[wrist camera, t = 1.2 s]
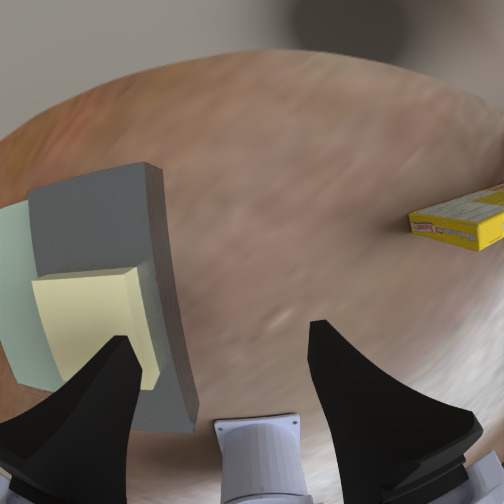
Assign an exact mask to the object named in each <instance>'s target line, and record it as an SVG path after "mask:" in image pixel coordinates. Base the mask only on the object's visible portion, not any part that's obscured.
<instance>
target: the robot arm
mask: <svg viewBox="0 0 504 504" xmlns="http://www.w3.org/2000/svg"><path fill="white" fill-rule="evenodd" d="M307 359H308V364H309V368H310V373H311V377H312V381H313V384H314V386H315V389H316V392H317V395H318V397H319V400H320V403H321V406H322V408H323V411H324V414H325V417H326V419H327V422H328V425H329V428H330V431H331V435H332V439H333V444H334V448H335V453H336V458H337V463H338V468H339V473H340V479H341V485H342V492H343V500H344V504H504V469H503V467H502V465H501V463H500V461H499V459H498V457H497V455H496V454H495V452H494V450H491V451H489V452H488V453H487V454H485V455H484V456H483V457H481V458H480V459H478V460H477V461H476V462H474V463H473V464H471V465H470V466H469V467H467V468H466V469H465V468H464V466H463V463H465V462H466V459H465V457H464V455H463V454H464V453H465V452H466V451H467V450H468V449H469V448H470V447H471V446H472V445H473V444H474V443H475V442H476V441H477V440H478V439H479V438H480V437H481V435H482V434H483V428H482V427H481V425H480V423H479V422H478V420H477V418H476V417H475V415H474V414H473V412H472V411H468V410H465V409H461V408H458V407H454V406H451V405H448V404H445V403H442V402H440V401H437V400H435V399H432V398H430V397H428V396H425V395H423V394H421V393H419V392H417V391H415V390H413V389H411V388H409V387H408V386H406V385H404V384H402V383H401V382H399V381H397V380H396V379H394V378H393V377H391V376H390V375H388V374H387V373H385V372H384V371H382V370H381V369H380V368H378V367H377V366H376V365H375V364H373V363H372V362H371V361H369V360H368V359H367V358H366V357H365V356H364V355H362V354H361V353H360V352H359V351H358V350H357V349H356V348H354V347H353V346H352V345H351V344H350V343H349V342H348V341H347V340H346V339H345V338H344V337H343V336H342V335H341V334H340V333H339V332H338V331H337V330H336V329H335V328H334V327H333V326H332V325H331V324H330V323H329V322H328V321H327V320H319V321H312V322H310V330H309V344H308V357H307ZM142 371H143V369H142V367H141V365H140V363H139V361H138V359H137V356H136V354H135V352H134V350H133V347H132V345H131V343H130V340H129V338H128V336H127V335H114V336H113V337H112V338H111V339H110V340H109V341H108V342H107V343H106V344H105V345H104V346H103V347H102V348H101V349H100V350H99V351H98V352H97V353H96V354H95V355H94V356H93V357H92V358H91V359H90V360H89V361H88V362H87V363H86V364H85V365H84V366H83V367H82V368H81V369H80V370H79V371H78V372H77V373H76V374H75V375H74V376H73V377H72V378H70V379H69V380H68V381H67V382H66V383H65V384H64V385H63V386H62V387H60V388H59V389H58V390H57V391H56V392H54V393H53V394H52V395H50V396H49V397H48V398H46V399H45V400H43V401H42V402H40V403H39V404H37V405H36V406H34V407H33V408H31V409H30V410H28V411H26V412H24V413H22V414H21V415H19V416H17V417H15V418H13V419H10V420H8V421H6V422H3V423H0V467H2V468H3V469H4V470H6V471H7V472H8V473H9V474H11V475H12V478H11V480H10V479H8V478H7V477H6V476H4V475H3V474H1V473H0V504H127V498H126V456H127V445H128V438H129V433H130V429H131V425H132V420H133V417H134V413H135V409H136V405H137V401H138V397H139V393H140V387H141V380H142ZM294 421H296V422H294ZM214 427H215V431H216V434H217V438H218V442H219V446H220V449H221V453H222V456H223V464H222V483H221V503H220V504H314V502H313V498H312V495H308V492H307V487H306V483H305V479H304V474H303V470H302V466H301V461H300V457H299V442H300V417H299V415H298V414H288V415H280V416H272V417H262V418H251V419H236V420H217V421H215V423H214ZM319 504H323V503H319Z"/></svg>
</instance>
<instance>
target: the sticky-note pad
mask: <svg viewBox="0 0 504 504" xmlns="http://www.w3.org/2000/svg"><path fill="white" fill-rule="evenodd" d="M31 282H32V286H33V291H34V295H35V299H36V303H37V307H38V311H39V314H40V318H41V321H42V325H43V328H44V331H45V334H46V338H47V341H48V343H49V346H50V349H51V352H52V355H53V357H54V360H55V363H56V365H57V368H58V370H59V373H60V375H61V378H62V380H63V381H68V380H69V379H70V378H72V377H73V376H74V375H75V374H76V373H77V372H78V371H79V370H80V369H81V368H82V367H83V366H84V365H85V364H86V363H87V362H88V361H89V360H90V359H91V358H92V357H93V356H94V355H95V354H96V353H97V352H98V351H99V350H100V349H101V348H102V347H103V346H104V345H105V344H106V343H107V342H108V341H109V340H110V339H111V338H112V337H113V336H114V335H127V336H128V338H129V340H130V343H131V345H132V347H133V350H134V352H135V354H136V356H137V359H138V361H139V363H140V365H141V367H142V369H143V371H142V380H141V387H140V389H141V390H153V388H154V386H155V384H156V381H157V379H158V377H159V375H160V372H159V368H158V365H157V361H156V357H155V353H154V349H153V345H152V341H151V337H150V333H149V329H148V324H147V320H146V315H145V310H144V305H143V300H142V295H141V290H140V284H139V279H138V273H137V267H129V268H117V269H105V270H93V271H82V272H70V273H57V274H47V275H45V276H42V277H40V278H37V279H35V280H33V281H31Z"/></svg>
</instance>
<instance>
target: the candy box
mask: <svg viewBox="0 0 504 504" xmlns="http://www.w3.org/2000/svg"><path fill="white" fill-rule="evenodd" d="M408 216H409V220H410V226H411V231H412V233H413V234H416V235H421V236H424V237H428V238H431V239H435V240H439V241H442V242H446V243H449V244H453V245H456V246H460V247H463V248H467V249H470V250H474V251H478V252H479V251H480V250H482V249H484V248H486V247H487V246H489V245H491V244H493V243H495V242H496V241H498V240H500V239H502V238H503V237H504V184H500V185H497V186H494V187H491V188H487V189H484V190H481V191H478V192H474V193H471V194H468V195H465V196H462V197H459V198H456V199H453V200H450V201H447V202H443V203H440V204H437V205H433V206H430V207H427V208H424V209H420V210H417V211H414V212H412V213H409V214H408Z"/></svg>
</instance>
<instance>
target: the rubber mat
mask: <svg viewBox="0 0 504 504" xmlns="http://www.w3.org/2000/svg"><path fill="white" fill-rule="evenodd" d="M37 278H38V276H37V270H36V265H35V259H34V253H33V246H32V238H31V230H30V219H29V206H28V200H26V201H23V202H19V203H16V204H13V205H10V206H7V207H5V208H2V209H0V341H1V343H2V346H3V349H4V352H5V354H6V357H7V359H8V362H9V364H10V366H11V369H12V371H13V373H14V376H15V378H16V380H17V382H18V383H20V384H23V385H27V386H31V387H34V388H38V389H42V390H46V391H50V392H56V391H57V390H58V389H59V388H60V387H62V386H63V385H64V384H65V383H66V382H67V381H63V380H62V378H61V375H60V373H59V370H58V368H57V365H56V363H55V360H54V357H53V355H52V352H51V349H50V346H49V343H48V341H47V338H46V334H45V331H44V328H43V325H42V321H41V318H40V314H39V311H38V307H37V303H36V299H35V295H34V291H33V286H32V282H31V281H33V280H35V279H37Z"/></svg>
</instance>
